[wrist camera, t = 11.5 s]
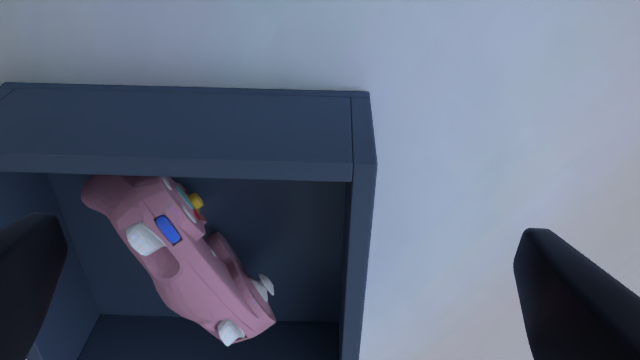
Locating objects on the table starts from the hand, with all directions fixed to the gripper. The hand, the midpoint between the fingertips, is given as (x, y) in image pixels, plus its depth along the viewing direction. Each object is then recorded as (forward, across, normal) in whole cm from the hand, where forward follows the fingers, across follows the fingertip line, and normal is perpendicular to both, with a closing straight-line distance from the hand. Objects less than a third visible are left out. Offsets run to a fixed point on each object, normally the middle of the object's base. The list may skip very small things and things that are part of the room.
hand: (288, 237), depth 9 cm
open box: (+12, +6, +10) cm, 17 cm away
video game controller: (+12, +6, +9) cm, 16 cm away
